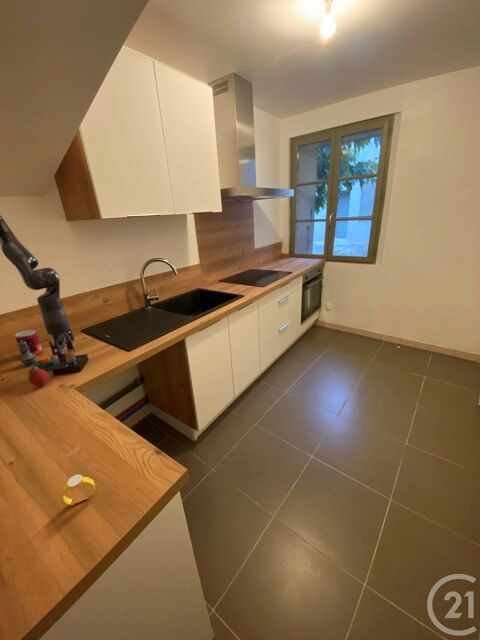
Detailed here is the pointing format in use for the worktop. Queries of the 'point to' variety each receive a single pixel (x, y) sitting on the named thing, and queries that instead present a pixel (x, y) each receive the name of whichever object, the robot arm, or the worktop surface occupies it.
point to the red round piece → (38, 376)
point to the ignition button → (44, 359)
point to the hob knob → (69, 356)
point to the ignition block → (46, 365)
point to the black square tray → (70, 366)
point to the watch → (74, 483)
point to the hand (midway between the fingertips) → (67, 356)
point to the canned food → (30, 341)
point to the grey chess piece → (26, 355)
